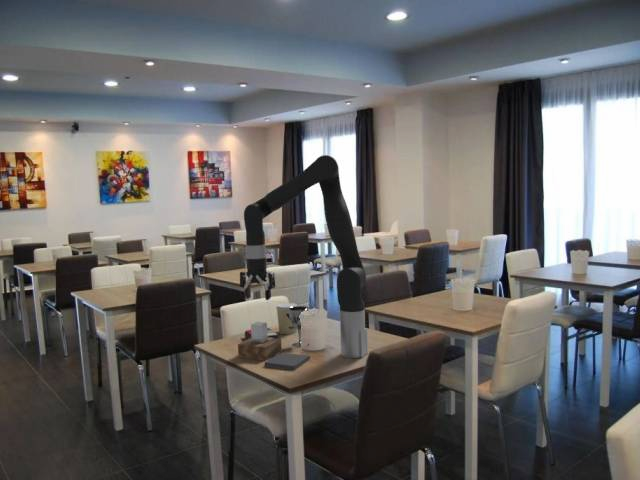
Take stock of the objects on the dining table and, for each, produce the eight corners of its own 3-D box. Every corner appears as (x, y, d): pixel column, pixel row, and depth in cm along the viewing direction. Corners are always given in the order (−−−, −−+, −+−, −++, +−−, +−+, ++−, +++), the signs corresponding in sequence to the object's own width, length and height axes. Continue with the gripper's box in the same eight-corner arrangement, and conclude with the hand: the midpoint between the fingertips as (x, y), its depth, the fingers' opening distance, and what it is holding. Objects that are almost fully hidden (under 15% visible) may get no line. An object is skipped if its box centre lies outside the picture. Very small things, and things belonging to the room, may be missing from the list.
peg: (268, 353, 206) (266, 322, 205) (262, 356, 202) (261, 325, 201) (258, 351, 208) (257, 321, 207) (252, 355, 204) (251, 324, 203)
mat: (309, 359, 196) (309, 355, 196) (294, 370, 186) (294, 366, 185) (280, 356, 201) (280, 352, 201) (264, 366, 191) (264, 362, 190)
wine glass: (300, 340, 222) (299, 305, 220) (314, 344, 216) (312, 307, 214) (286, 345, 216) (284, 308, 215) (299, 348, 210) (298, 311, 209)
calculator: (269, 326, 233) (278, 333, 219) (269, 336, 234) (279, 343, 219) (244, 329, 230) (252, 336, 215) (244, 339, 230) (252, 347, 216)
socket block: (281, 351, 208) (281, 338, 208) (265, 360, 197) (265, 347, 197) (255, 348, 213) (254, 335, 213) (238, 357, 202) (237, 344, 202)
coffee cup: (290, 335, 230) (289, 308, 229) (273, 333, 235) (272, 306, 234) (302, 330, 238) (301, 303, 236) (285, 328, 243) (284, 302, 242)
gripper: (277, 255, 202) (279, 298, 204) (245, 254, 208) (247, 296, 210) (267, 258, 195) (269, 302, 197) (234, 257, 201) (236, 299, 203)
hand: (258, 298), depth 203 cm, fingers open, 8 cm apart
